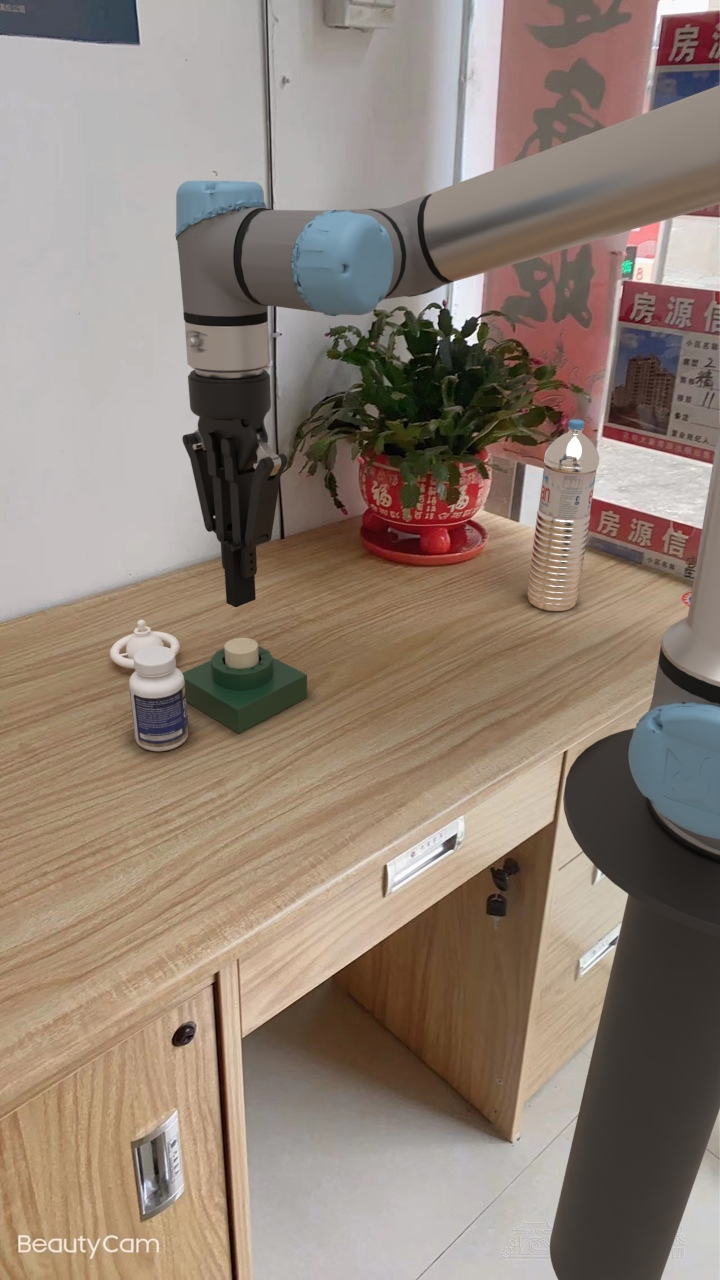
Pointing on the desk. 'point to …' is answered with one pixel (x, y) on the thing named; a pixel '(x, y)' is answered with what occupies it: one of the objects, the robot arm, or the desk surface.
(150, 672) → the pill bottle
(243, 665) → the cream cylindrical peg
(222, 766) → the desk surface
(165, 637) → the ring around a ball
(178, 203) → the robot arm
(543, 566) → the water bottle
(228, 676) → the green square peg base
